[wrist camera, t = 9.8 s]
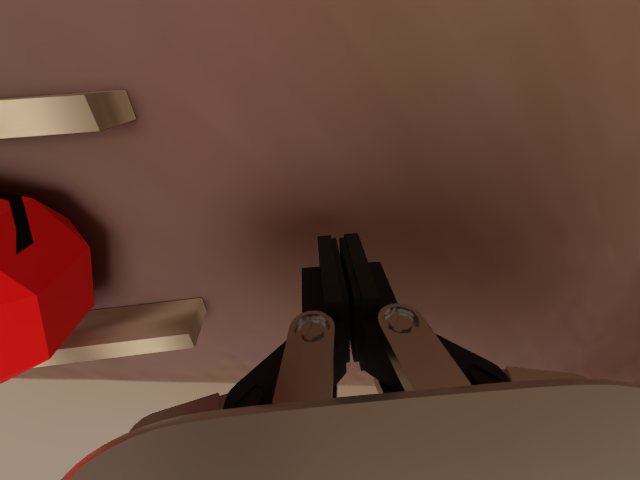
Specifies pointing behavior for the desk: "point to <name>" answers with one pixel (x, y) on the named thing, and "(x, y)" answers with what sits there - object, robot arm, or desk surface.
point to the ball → (39, 283)
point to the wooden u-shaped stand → (112, 323)
